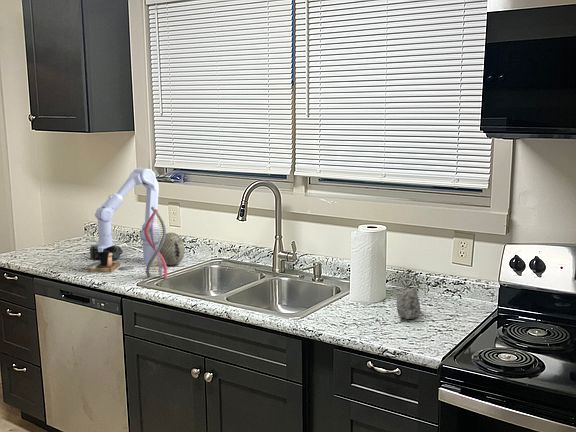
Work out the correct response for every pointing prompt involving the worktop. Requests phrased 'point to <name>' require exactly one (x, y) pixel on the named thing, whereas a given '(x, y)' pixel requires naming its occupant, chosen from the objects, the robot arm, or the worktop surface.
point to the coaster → (126, 268)
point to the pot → (108, 261)
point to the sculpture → (94, 255)
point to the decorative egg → (172, 249)
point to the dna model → (150, 220)
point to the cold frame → (97, 268)
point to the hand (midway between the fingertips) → (106, 264)
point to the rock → (408, 304)
